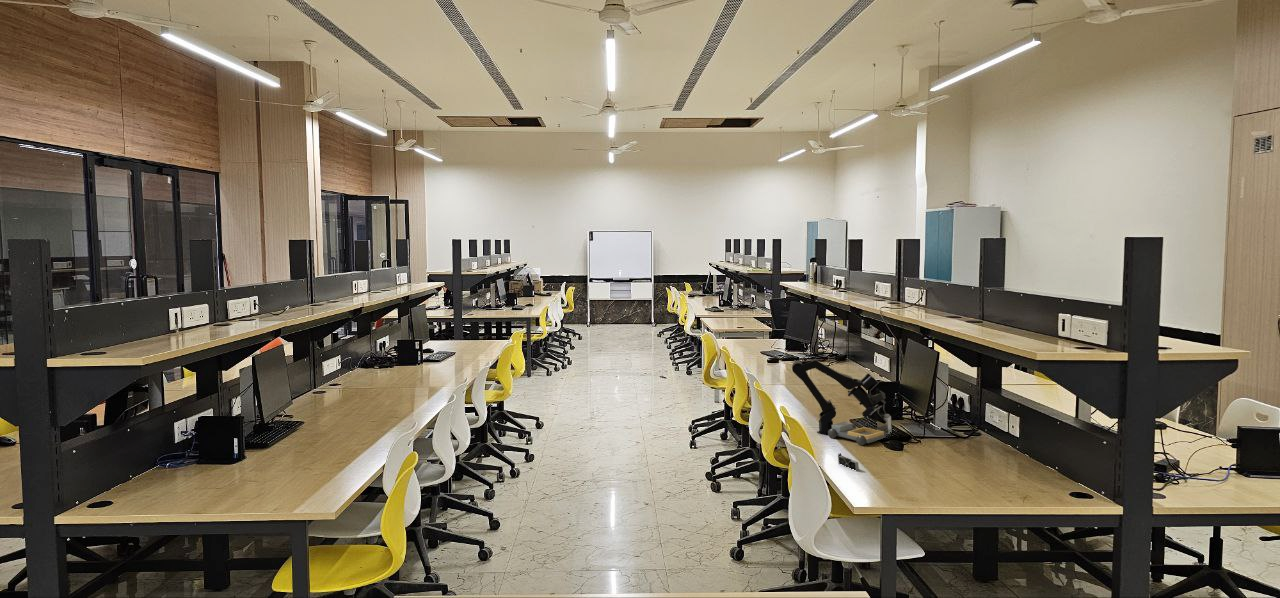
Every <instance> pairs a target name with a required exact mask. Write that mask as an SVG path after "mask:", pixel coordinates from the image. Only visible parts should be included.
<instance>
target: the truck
mask: <svg viewBox="0 0 1280 598" xmlns="http://www.w3.org/2000/svg"><path fill="white" fill-rule="evenodd" d="M827 436H828V437H829V438H830V439H836V438H837V437H838V438H843V439H847V440H852V441H854V442H856V443H857V445H858V446H861V447H862V446H865V445H866V444H869V445H870V444H871V443H875V442H877V441H882V440H884V439H883V438H885V439H886V438H887V437H886V434H885V432H884V431H883V430H877V429H875V428H869V427H865V426H863V427H860V428H857V425H856V424H854V423H852V422H848V421H842V422H838V423H835V424H834V423H833V425H832V429H830V430H829V431H828V435H827ZM881 439H882V440H881Z"/></svg>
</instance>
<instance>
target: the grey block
mask: <svg viewBox="0 0 1280 598" xmlns="http://www.w3.org/2000/svg"><path fill="white" fill-rule="evenodd" d="M880 415H881V416H882V418H883V419H884V420H885V422H886V423H885V424H883V423H881V422H879V421H876V424H877V429H876V430H883V431H884V432H885V434H889V433H890V432H891V433H892V416H891V415H890V414H889V413H886V414H883V413H881V414H880Z"/></svg>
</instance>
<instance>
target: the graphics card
mask: <svg viewBox="0 0 1280 598" xmlns="http://www.w3.org/2000/svg"><path fill="white" fill-rule="evenodd" d="M837 459H838V460H837V461H838V465H840V464H842V465H844V466H843V467H845V466H846V467H845V468H847V467H849V468H851V469H850V470H852V469H854V470H856V471H855V472H859V471H860V469H859V461H856V460H855V459H851V458H849V457H846V456H844V455H842V453H838V455H837ZM842 465H841V466H842ZM849 468H848V469H849ZM854 470H853V471H854ZM858 470H859V471H858Z"/></svg>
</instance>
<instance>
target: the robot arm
mask: <svg viewBox="0 0 1280 598" xmlns="http://www.w3.org/2000/svg"><path fill="white" fill-rule="evenodd" d="M814 369H815V370H818V371H819V372H820V373H821V372H822V373H823V374H825V375H826V376H828V377H830V378H831V379H833V380H835V381H836V382H838V383H839V385H841V386H842V387H843V388H845V390H848V391H847V397H851V396H853V397H854V398H855V399H856V400H857V401H858V402H859V403H858V404H859V405H860V406H863V407H864V410H863V412H862V415H861V416H863V418H864V419H866V418H868V419H871V420H875V421H876V422H877V421H879V422H881V423H883V424H885V423H886V422H885V420H884V419H883V418H882V416H881V415H880V414H881V413H883V414H887V412H886V410H885V404H886V403H887V402H886V400H885V399H887V397H886V393H885V392H884V391H882V390H878V391H877V392H876V394H874V395H873V394H872V393H871V394H869V393H868V391H872V390H873V389H874V388H875V387H877V385H878V384H879V381H878V379H876V378H875V377H874V376H872V375H871V374H870V373H869V372H868V373H866V374H865V376H863V377H862V378H861V379H858V378H853V377H852V376H851V375H848V374H846V373H845V374H844V373H841V372H839V371H837V370H835V369H834V368H831V367H830V366H828V365H827V364H825V363H822V362H821V361H819V360H818V359H817V358H813V359H810V360H803V361H799V360H796V361H794V362H792V364H791V371H792V372H793V374H794V375H795V376H796V377H798V378H799V379H800V380H801V382H803V383H804V385H805V386H806V388H807V389H808V390H809V393H811V394H812V396H813V397H814V398H815V400H816V402H817V404H819V407H820V408H821V412H819V414H818V416H819V419H818V431H816V432H817V433H818V434H821V435H825V436H829V435H828V431H829V430H830V429H832V425H834V421H833V419H834V418H835V417H836V416H837V410H836V409H837V407H836V405H834V404H833V403H832V400H831V399H829V400H827V399H826V398H825V397H824V395H823V394H822V393H821V391H820V390H819V389H818V387H817V386H816V384H815V383H814V381H813V380H812V378H811V377H810V376H809V374H808V372H807V371H810V370H814Z"/></svg>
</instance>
